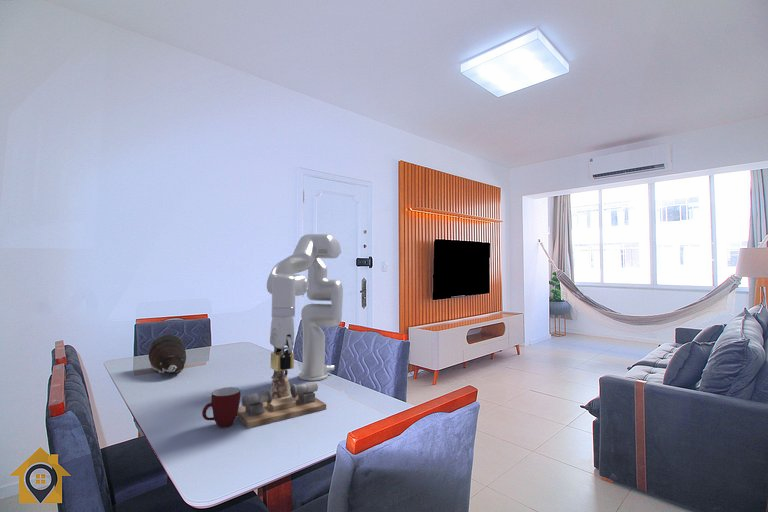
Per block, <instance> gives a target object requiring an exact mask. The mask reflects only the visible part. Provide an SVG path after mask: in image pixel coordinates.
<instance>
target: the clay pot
mask: <svg viewBox="0 0 768 512" xmlns="http://www.w3.org/2000/svg"><path fill="white" fill-rule="evenodd" d="M186 354H187V353H186V348H185V344H184V341H183V338H181V337H179V336H178V335H173V334H163V335H161V336H159V337H157V338H155V339H154V340H153V341H152V342H151V344H150V346H149V347H148V360H149V363H150V367H151V368H152V369H153V371H156V372H158V373H159V375H161V374H165V373H167V374H175V376H178V375H180V374H181V372H182V371H183V370H184V369H185V364H186V361H187V355H186Z"/></svg>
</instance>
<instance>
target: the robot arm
mask: <svg viewBox="0 0 768 512" xmlns="http://www.w3.org/2000/svg"><path fill="white" fill-rule="evenodd" d="M340 254H341V244H340V241H339V240H338V239H337V238H335V237H334V236H333V235H330V234H327V233H326V234H325V233H323V234H322V233H321V234H319V233H316V234H315V233H311V234H310V233H309V234H308V233H307V234H304V235H302V236H301V237H300V238H299V240H298V242H297V244H296V246H295V249H294V250H293V253H292V255H289V256H287V257H286V258H284V259H282V260H280V261H279V262H277V263H276V264H275V265H274V266H273V268H272V269H271V271H270V273H269V274H268V277H267V280H266V290H267V292H268V293H269V294H270V295H271V323H270V333H269V334H270V335H269V336H270V337H269V344H270V345H271V346H273V352H280V351H282V357H281V370H285V369H287V370H291V369H290V368H291V353H293V350H294V344H295V321H294V320H295V319H294V318H295V317H296V297H298V296H300V297H301V296H303V295H305V294H306V297H307V298H308V300H309V301H315V302H316V301H317V302H319V301H320V302H331V303H308V304H305V305H304V306H303V307H302V309H301V313H300V315H301V317H300V318H301V323H302V364H301V365H302V368H301V369H302V371H301V372H299V373H298V378H299V379H300V380H303V381H309V382H310V381H311V382H312V381H313V382H316V381H320V380H324V379H327V378H328V377H329V373H328V372H329V371H334V370H335V365H333V364H332V365H329V364H327V365H326V364H325V362H326V359H325V358H326V335H325V333H324V331H323V329H322V328H321V327H336V326H337V327H338V326H339V325H340V324H341V322H342V316H343V297H344V287H343V283H342V282H341V280H339V279H328V267H327V266H326V264H325V263H324V261H323V259H337V258H338V257H339V256H340ZM304 271H307V277H306V276H305V275H303V274H298V273H302V272H304ZM285 346H286V347H285ZM284 351H285V352H284Z"/></svg>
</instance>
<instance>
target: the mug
mask: <svg viewBox="0 0 768 512" xmlns="http://www.w3.org/2000/svg"><path fill="white" fill-rule="evenodd" d="M210 400H211V401H210V402H209V403H207V404H205V405H204V406H203V408H202V412H201V415H202V417H203V419H204V420H206V421H214V422H215V424H216V425H217V426H218V427H219V428H221V429H224V428H229V427H231V426H232V425H234V422H235V420H236V419H237V417H238V416H237V413H238V408H239V407H240V402H241V389H240V388H239V387H232V386H231V387H228V386H227V387H221V388H217V389H215V390H213V391H212V392H211V399H210ZM209 408H211V409H212V417H209V416H207V410H208V409H209Z"/></svg>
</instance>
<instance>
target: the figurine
mask: <svg viewBox="0 0 768 512" xmlns="http://www.w3.org/2000/svg"><path fill="white" fill-rule="evenodd" d="M288 373H289V372H288V369H287V370H281V371H275V370H273V375H272V376H271V377H270V378H271V379H272V382H271V387H270V390H271V392H272V400H273V399H278V398H282V397H287V396H289V397H290V395H291V391H290V388H291V385H290V381H289V378H288Z"/></svg>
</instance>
